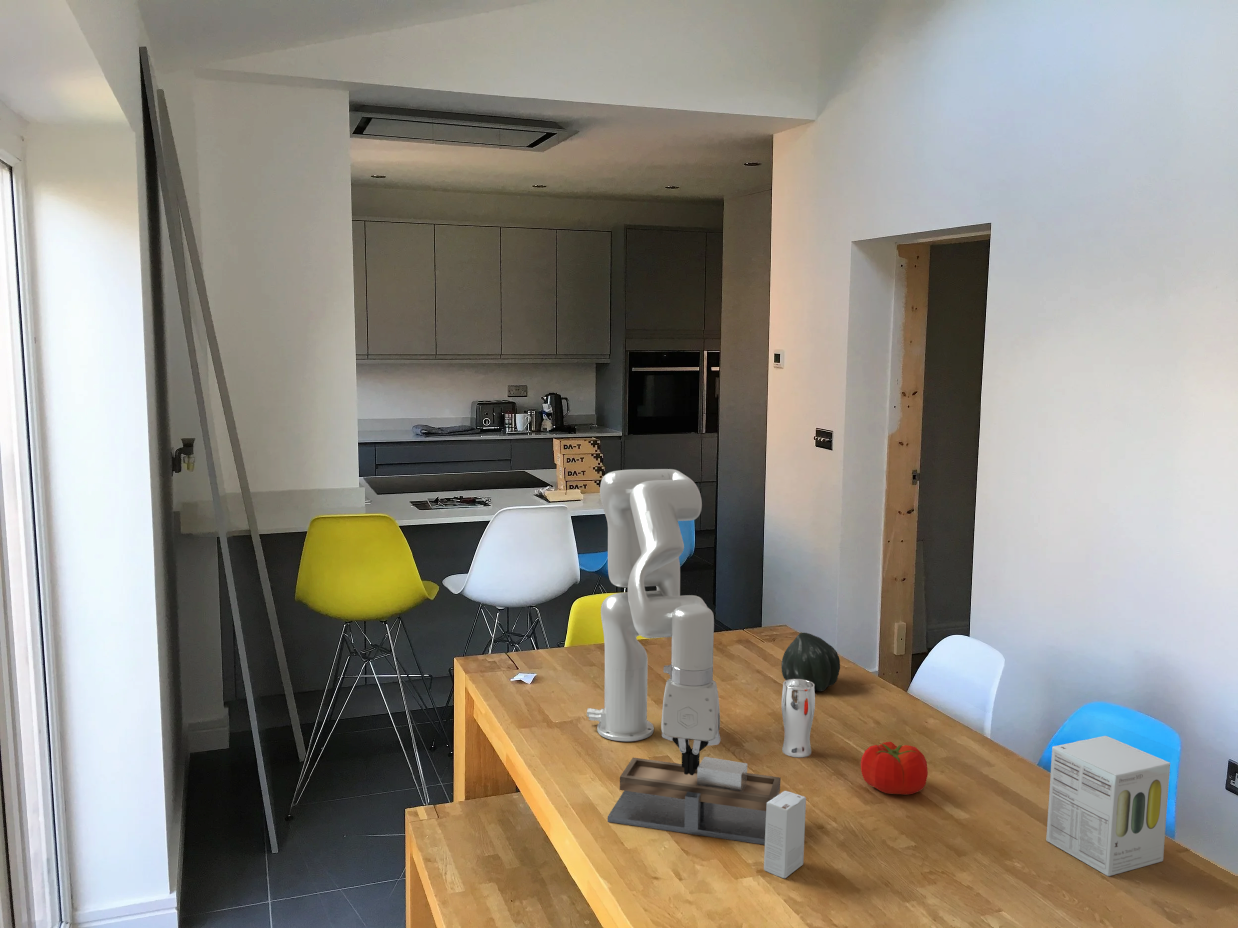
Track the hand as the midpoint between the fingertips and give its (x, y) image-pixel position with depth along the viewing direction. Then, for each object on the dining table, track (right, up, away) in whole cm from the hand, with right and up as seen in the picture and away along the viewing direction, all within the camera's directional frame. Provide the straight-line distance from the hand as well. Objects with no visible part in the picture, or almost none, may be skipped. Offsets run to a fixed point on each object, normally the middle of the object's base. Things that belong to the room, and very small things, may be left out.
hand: (690, 771), depth 179 cm
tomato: (+41, -8, +13) cm, 44 cm away
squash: (+36, -1, +72) cm, 80 cm away
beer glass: (+25, -6, +30) cm, 40 cm away
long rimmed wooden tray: (+2, -3, 0) cm, 4 cm away
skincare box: (+14, -11, -17) cm, 25 cm away
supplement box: (+70, -11, -11) cm, 72 cm away
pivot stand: (+2, -8, +1) cm, 9 cm away
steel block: (+6, -2, -2) cm, 6 cm away
